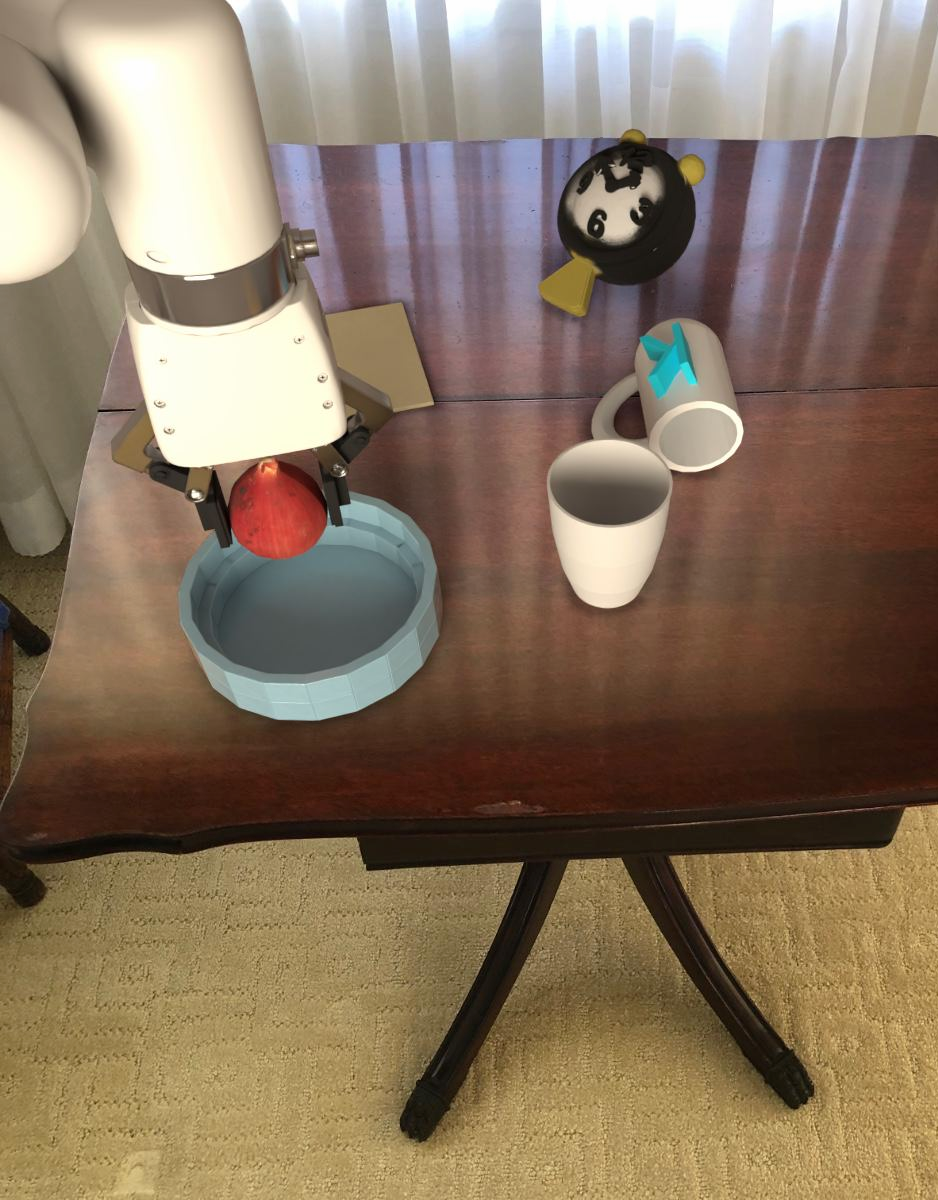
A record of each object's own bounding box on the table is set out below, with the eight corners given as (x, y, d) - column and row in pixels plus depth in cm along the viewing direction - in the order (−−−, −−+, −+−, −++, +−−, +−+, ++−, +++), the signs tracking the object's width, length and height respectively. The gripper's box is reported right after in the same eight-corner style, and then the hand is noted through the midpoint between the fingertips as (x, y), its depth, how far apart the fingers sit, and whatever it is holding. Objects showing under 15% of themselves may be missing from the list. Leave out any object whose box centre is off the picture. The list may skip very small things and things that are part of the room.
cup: (673, 549, 80) (683, 449, 73) (651, 635, 75) (659, 537, 68) (565, 530, 81) (564, 429, 74) (537, 613, 76) (532, 514, 69)
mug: (693, 269, 85) (719, 368, 78) (728, 353, 92) (754, 452, 85) (556, 325, 88) (567, 426, 81) (599, 403, 95) (614, 503, 87)
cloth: (286, 432, 88) (284, 428, 87) (266, 328, 96) (265, 324, 96) (434, 405, 90) (433, 401, 90) (402, 305, 98) (402, 301, 98)
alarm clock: (537, 294, 106) (537, 125, 100) (687, 297, 107) (697, 129, 100) (538, 318, 95) (538, 131, 89) (704, 321, 96) (716, 135, 90)
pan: (207, 751, 69) (187, 711, 66) (189, 560, 79) (171, 517, 76) (465, 689, 72) (459, 648, 69) (417, 513, 82) (409, 470, 79)
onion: (256, 599, 67) (227, 506, 61) (230, 536, 70) (200, 443, 64) (348, 568, 69) (328, 475, 63) (318, 508, 72) (297, 415, 66)
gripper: (375, 203, 58) (408, 456, 72) (25, 247, 54) (131, 505, 68) (401, 284, 53) (431, 538, 67) (21, 338, 50) (136, 595, 63)
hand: (280, 519), depth 67 cm, fingers closed on onion, 6 cm apart
